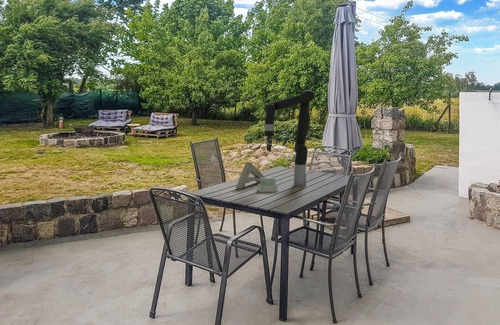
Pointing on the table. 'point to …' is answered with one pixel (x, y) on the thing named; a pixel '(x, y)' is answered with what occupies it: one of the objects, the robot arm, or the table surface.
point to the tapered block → (268, 181)
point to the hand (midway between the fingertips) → (268, 150)
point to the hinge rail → (268, 188)
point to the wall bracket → (245, 175)
